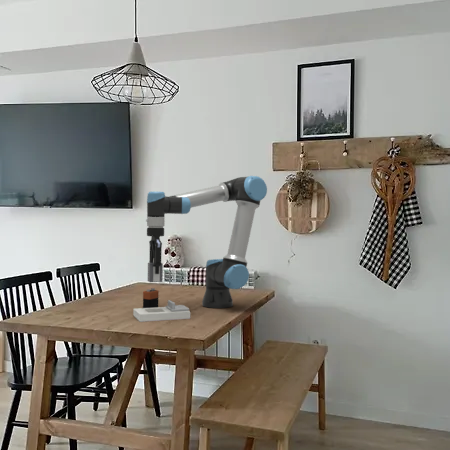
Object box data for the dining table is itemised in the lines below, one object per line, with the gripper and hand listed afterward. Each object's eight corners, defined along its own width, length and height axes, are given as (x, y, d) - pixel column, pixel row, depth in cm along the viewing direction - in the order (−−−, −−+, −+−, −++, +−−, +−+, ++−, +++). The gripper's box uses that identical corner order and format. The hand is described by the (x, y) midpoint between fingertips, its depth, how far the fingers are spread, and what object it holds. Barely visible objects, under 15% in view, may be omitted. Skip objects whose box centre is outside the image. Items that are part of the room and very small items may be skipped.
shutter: (182, 306, 235) (183, 299, 235) (189, 310, 225) (189, 302, 225) (165, 307, 232) (165, 299, 232) (171, 311, 223) (171, 303, 222)
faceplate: (181, 312, 237) (181, 306, 237) (190, 318, 224) (190, 311, 223) (133, 315, 229) (133, 308, 229) (139, 321, 216) (139, 314, 216)
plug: (159, 280, 228) (160, 257, 228) (162, 281, 224) (162, 258, 223) (147, 280, 226) (147, 258, 226) (149, 282, 222) (150, 259, 221)
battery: (158, 309, 244) (159, 288, 243) (150, 311, 238) (150, 290, 237) (151, 308, 246) (151, 287, 246) (142, 310, 240) (142, 289, 240)
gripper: (142, 226, 231) (142, 278, 232) (151, 227, 215) (150, 283, 215) (159, 226, 234) (158, 278, 234) (169, 227, 217) (168, 283, 218)
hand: (155, 280), depth 225 cm, fingers closed on plug, 4 cm apart
